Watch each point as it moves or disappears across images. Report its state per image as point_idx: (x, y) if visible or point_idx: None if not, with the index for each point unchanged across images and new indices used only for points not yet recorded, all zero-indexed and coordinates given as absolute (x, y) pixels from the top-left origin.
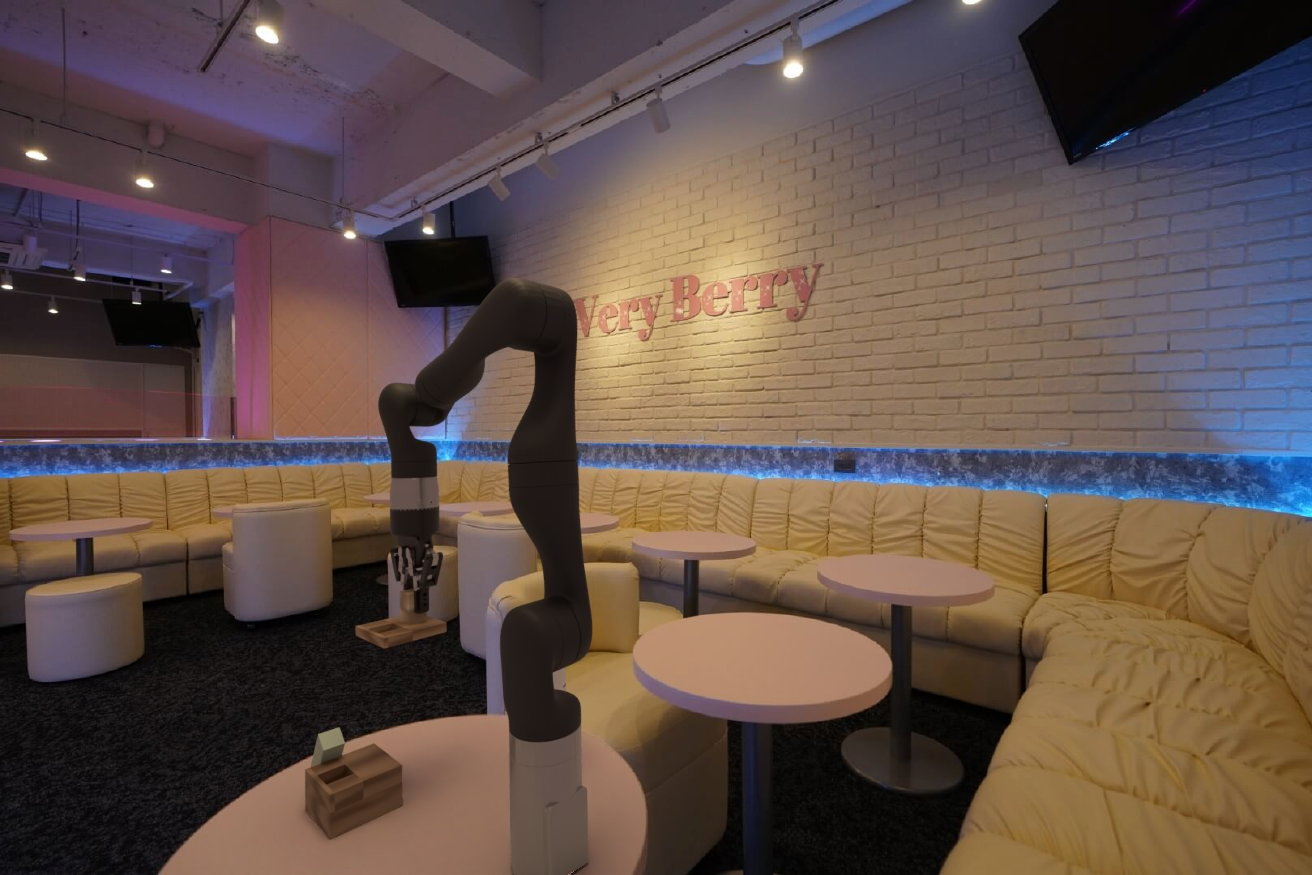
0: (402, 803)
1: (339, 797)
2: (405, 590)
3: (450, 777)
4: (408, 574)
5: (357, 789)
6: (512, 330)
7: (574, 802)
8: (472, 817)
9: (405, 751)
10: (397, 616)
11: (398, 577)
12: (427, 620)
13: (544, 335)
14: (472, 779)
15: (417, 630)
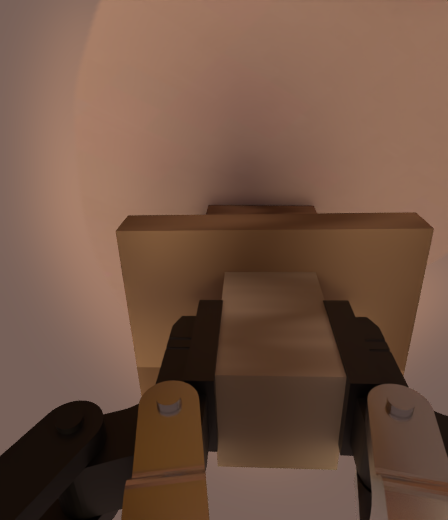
0: (313, 206)
1: None
2: (234, 445)
3: (305, 111)
4: (106, 472)
5: None
6: None
7: None
8: (441, 149)
9: (147, 123)
10: (129, 315)
11: (113, 513)
12: (313, 267)
13: None
14: (347, 85)
15: (406, 352)
